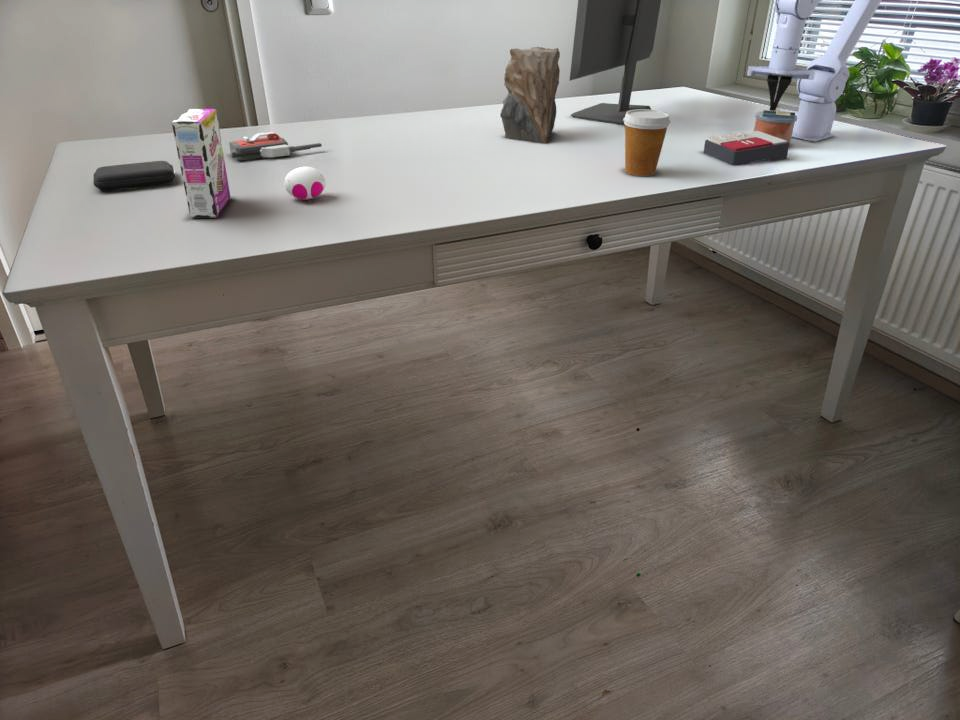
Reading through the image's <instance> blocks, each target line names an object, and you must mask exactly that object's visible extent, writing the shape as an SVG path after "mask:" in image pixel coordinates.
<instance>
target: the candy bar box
mask: <svg viewBox="0 0 960 720" xmlns="http://www.w3.org/2000/svg"><path fill="white" fill-rule="evenodd" d="M171 126H172V131H173V137H174V142H175V146H176V151H177V157H178V162H179V168H180V171H181V177H182V182H183V187H184V193H185V198H186V202H187V207H188V213H189V218H192V219H204V218H205V219H209V218H210V219H214V218H218V217H219V215H220V214H221V212H222V211H223V209H224V208H225V206H226V205H227V203H228V202H229V201H230V199H231V192H230V191H231V190H230V186H229V185H230V184H229V179H228V174H227V167H226V160H225V155H224V150H223V143H222V142H223V141H222V137H221V131H220V124H219V118H218V112H217V109H216V108H189V109H188V110H186V111H185V112H184V113H182V114H181V115H180V116H178V117H176V118H175V119H173V121H172V122H171Z"/></svg>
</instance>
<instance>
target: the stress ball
mask: <svg viewBox="0 0 960 720" xmlns="http://www.w3.org/2000/svg"><path fill="white" fill-rule="evenodd" d="M326 183H327V182H326V177H325V175H324V174H323V172H321V171H320V170H319V169H317V168H315V167H312V166H300V167H296V168H294V169H292V170H291V171H289V172H288V173H287V175H286V176H285V178H284V183H283V185H284V188H285V191H286V192H287V193H288V194H289V195H290V196H291V197H293V198H295V199H298V200H308V202H309V203H312V202H311V201H312V200H311V199H314V198H318V197H319V196H320V195H321V194H322V193H323V192H324V190H325V188H326V185H327V184H326Z"/></svg>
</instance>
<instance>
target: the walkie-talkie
mask: <svg viewBox="0 0 960 720" xmlns="http://www.w3.org/2000/svg"><path fill="white" fill-rule="evenodd" d="M265 136H266V137H265ZM228 145H229V151H230V155H231V157H232V158H233V159H236V160H237V161H241V162H243V161H249V160H256V159H264V158H278V157H286V156H291V153H295V152H301V151H307V150H311V149H314V148H321V147H322V143H321V142H318V143H309V144H303V145H296V146H293V145H291V146H289V142H288V141H286V139H285V138H283V137H281V136H280V135H279V134H278V133H276V132H275V131H266V132H258V133H257V132H256V133H255V134H254V135H253V136H252V137H251V138H250V137H248V136H243V139H241V140H234V141H229V142H228Z"/></svg>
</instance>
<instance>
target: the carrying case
mask: <svg viewBox="0 0 960 720" xmlns="http://www.w3.org/2000/svg"><path fill="white" fill-rule="evenodd" d="M176 178H177V174H176V171H175V168H174V166H173V164H171V163H170V162H168V161H167V160H155V161H152V160H151V161H144V162H143V161H142V162H132V163H123V164H114V165H106V166H105V165H104V166H100V167H98V168H96V169H95V172H94V173H93V186H94V187H95V188H97V189H98V190H99V191H101V192H112V191H122V190H123V191H124V190H131V189H139V188H149V187H156V186H165V185H170V184H172V183H173V182H174V180H175V179H176Z"/></svg>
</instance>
